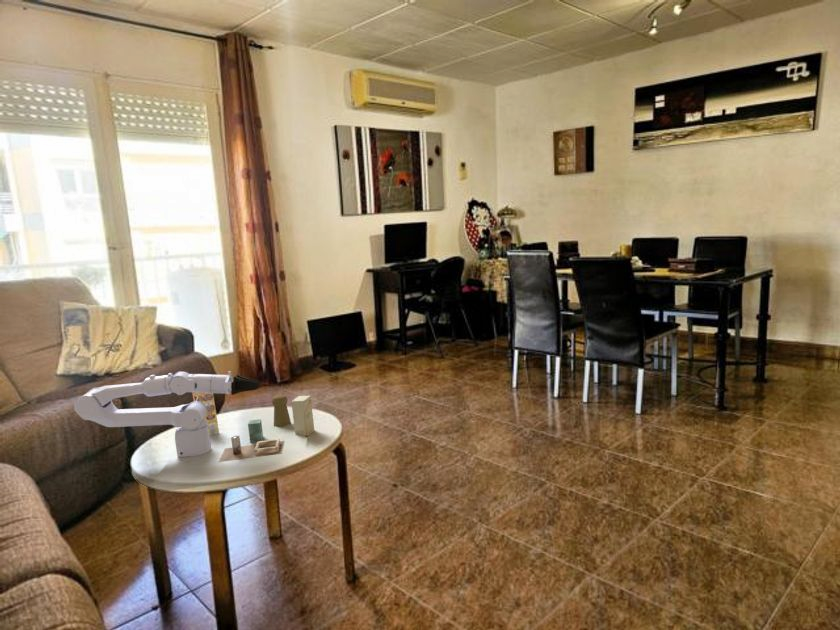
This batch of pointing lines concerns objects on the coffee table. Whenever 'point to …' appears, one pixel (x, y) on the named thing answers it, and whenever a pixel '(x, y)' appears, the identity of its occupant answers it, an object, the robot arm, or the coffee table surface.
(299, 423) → the skincare box
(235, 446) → the brushed metal cylinder
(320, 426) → the coffee table surface
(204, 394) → the candy box
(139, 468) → the coffee table surface
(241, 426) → the coffee table surface
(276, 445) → the brown board
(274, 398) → the cork
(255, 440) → the peg
